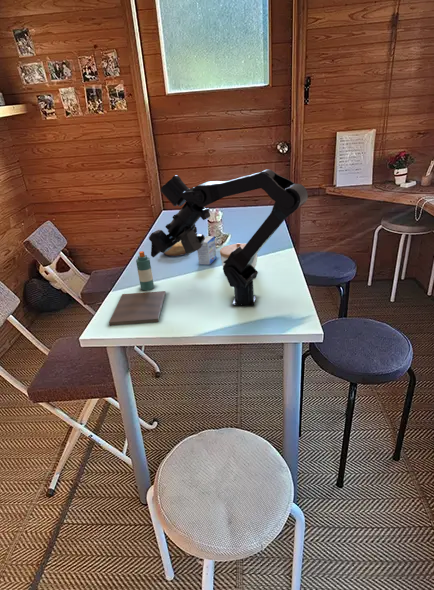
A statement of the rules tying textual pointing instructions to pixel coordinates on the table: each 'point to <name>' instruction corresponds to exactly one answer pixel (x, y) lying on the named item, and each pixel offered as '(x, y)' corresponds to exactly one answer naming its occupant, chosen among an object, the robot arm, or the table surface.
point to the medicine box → (207, 251)
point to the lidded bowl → (230, 248)
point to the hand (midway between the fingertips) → (160, 251)
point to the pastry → (176, 250)
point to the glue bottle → (144, 272)
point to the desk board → (138, 308)
